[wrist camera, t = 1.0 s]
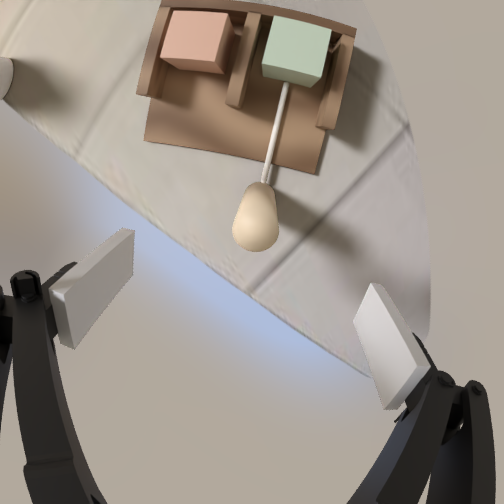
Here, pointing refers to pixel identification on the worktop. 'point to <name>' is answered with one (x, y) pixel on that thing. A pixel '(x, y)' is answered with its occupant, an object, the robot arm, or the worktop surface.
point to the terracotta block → (198, 41)
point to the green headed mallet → (279, 120)
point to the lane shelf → (243, 90)
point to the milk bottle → (5, 75)
